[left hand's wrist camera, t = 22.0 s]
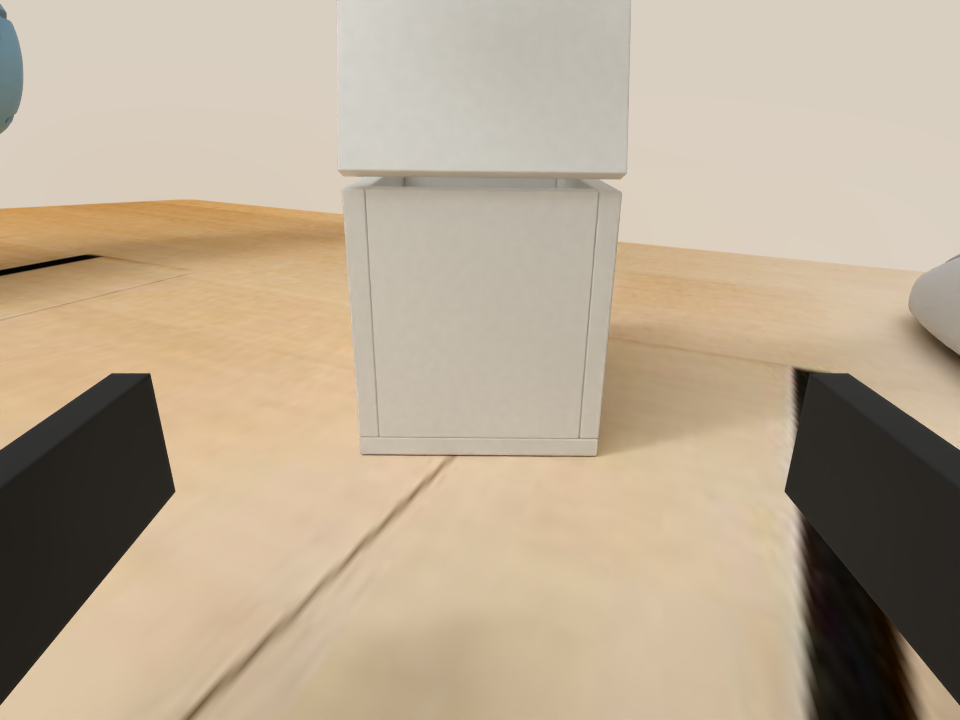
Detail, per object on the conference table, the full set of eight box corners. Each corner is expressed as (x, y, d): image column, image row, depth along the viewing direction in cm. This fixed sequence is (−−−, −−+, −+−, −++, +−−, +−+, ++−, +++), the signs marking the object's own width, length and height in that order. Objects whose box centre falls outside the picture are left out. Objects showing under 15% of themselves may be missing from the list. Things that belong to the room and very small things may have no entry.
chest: (397, 345, 38) (389, 161, 34) (559, 346, 38) (570, 163, 34) (360, 455, 26) (340, 188, 22) (597, 456, 26) (622, 191, 22)
